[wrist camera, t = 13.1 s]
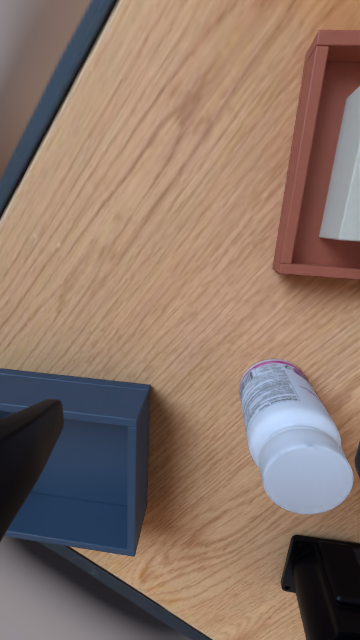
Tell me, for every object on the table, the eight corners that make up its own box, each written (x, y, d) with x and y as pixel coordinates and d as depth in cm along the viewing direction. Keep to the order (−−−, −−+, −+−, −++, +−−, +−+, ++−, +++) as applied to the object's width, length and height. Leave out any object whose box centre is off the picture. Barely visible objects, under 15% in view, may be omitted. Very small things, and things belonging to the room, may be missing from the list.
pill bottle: (317, 400, 21) (379, 505, 13) (255, 423, 23) (279, 533, 15) (290, 345, 20) (341, 424, 12) (227, 372, 21) (236, 460, 13)
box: (147, 505, 26) (134, 557, 22) (-4, 483, 27) (-42, 529, 23) (150, 384, 22) (137, 419, 18) (-25, 365, 24) (-74, 394, 20)
